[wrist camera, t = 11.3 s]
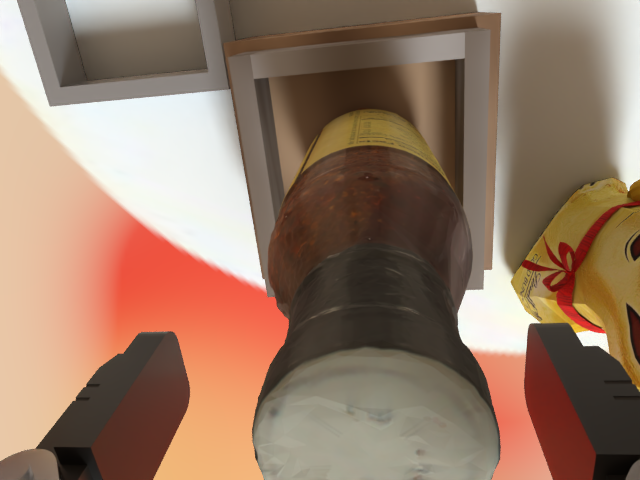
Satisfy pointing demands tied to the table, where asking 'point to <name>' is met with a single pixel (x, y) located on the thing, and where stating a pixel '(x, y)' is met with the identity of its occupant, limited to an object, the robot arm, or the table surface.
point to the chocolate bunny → (590, 269)
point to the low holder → (73, 88)
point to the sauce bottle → (373, 317)
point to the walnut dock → (372, 106)
